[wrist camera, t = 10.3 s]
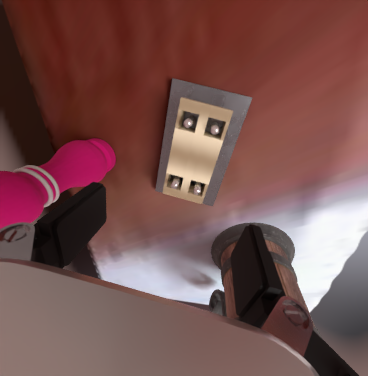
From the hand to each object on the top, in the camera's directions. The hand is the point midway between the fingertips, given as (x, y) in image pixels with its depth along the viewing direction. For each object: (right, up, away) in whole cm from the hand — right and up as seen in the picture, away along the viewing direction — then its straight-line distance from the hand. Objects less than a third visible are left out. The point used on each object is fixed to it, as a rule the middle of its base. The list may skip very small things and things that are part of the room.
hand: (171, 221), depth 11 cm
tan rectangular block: (+3, +8, +16) cm, 18 cm away
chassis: (+3, +8, +17) cm, 19 cm away
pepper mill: (-15, +8, +20) cm, 26 cm away
